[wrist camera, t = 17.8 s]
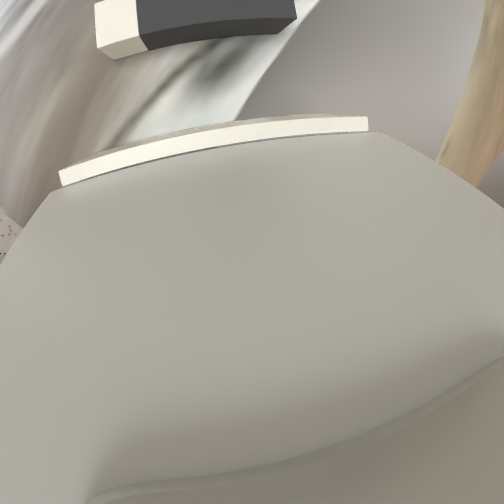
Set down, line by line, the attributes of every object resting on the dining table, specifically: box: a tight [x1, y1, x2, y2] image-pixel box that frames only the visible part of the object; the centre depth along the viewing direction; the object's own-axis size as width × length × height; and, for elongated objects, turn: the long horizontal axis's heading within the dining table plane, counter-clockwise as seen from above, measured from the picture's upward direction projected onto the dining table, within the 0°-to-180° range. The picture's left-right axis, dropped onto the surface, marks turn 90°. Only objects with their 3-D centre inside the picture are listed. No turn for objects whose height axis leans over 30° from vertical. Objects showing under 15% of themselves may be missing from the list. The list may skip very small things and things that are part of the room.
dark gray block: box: [95, 0, 297, 60], centre depth 15 cm, size 4×14×5 cm, turn 97°
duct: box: [59, 113, 368, 186], centre depth 14 cm, size 21×20×8 cm
